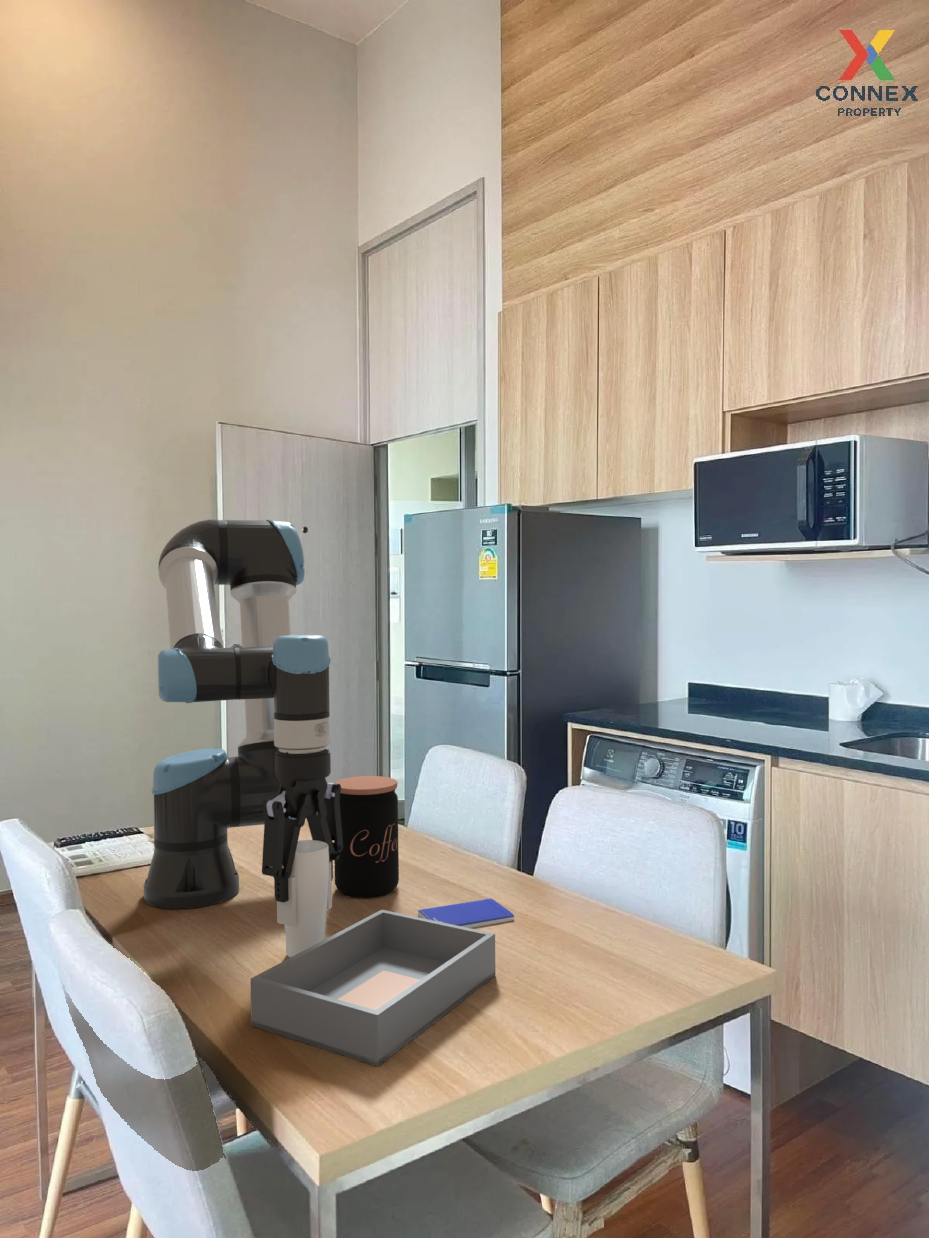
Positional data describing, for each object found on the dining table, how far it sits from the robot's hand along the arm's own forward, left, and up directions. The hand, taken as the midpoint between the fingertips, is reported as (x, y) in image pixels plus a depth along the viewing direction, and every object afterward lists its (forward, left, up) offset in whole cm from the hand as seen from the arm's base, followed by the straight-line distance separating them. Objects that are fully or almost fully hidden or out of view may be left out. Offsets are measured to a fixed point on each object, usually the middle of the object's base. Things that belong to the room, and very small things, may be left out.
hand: (305, 914), depth 124 cm
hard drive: (+12, +23, -6) cm, 27 cm away
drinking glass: (0, 0, -6) cm, 6 cm away
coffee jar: (-9, +26, -6) cm, 28 cm away
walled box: (+17, -6, -6) cm, 19 cm away
